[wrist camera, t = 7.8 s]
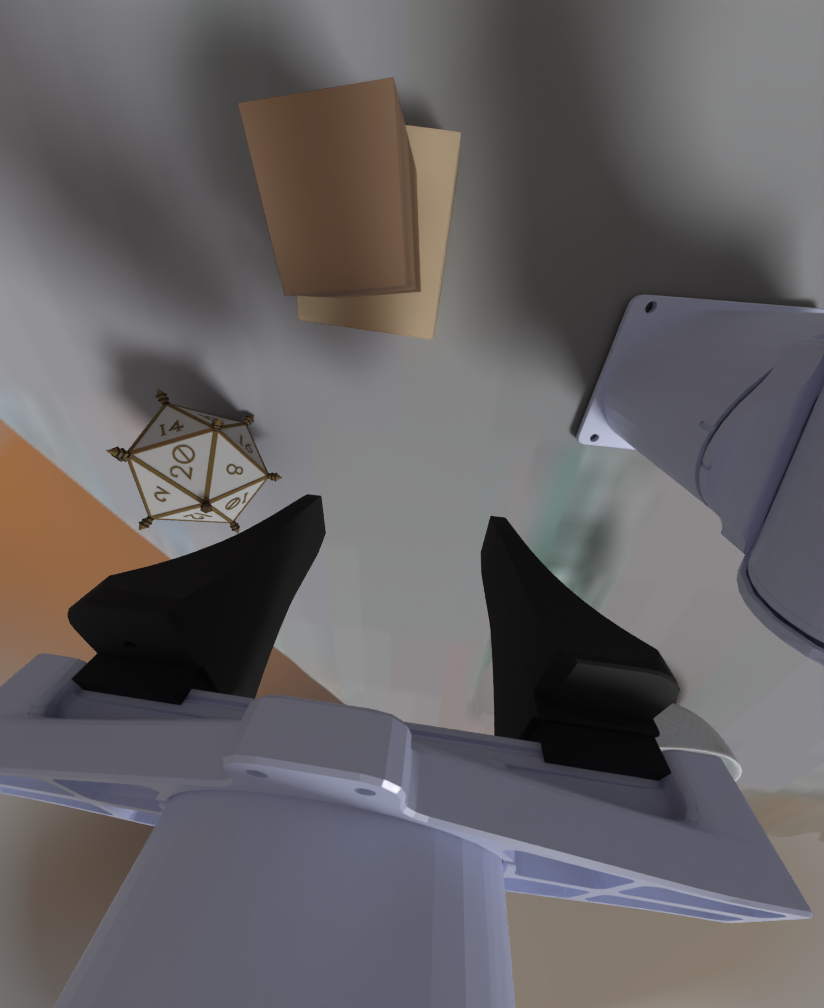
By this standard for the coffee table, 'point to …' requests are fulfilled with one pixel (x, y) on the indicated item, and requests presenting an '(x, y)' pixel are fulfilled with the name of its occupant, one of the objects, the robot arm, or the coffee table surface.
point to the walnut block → (337, 189)
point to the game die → (194, 466)
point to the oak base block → (435, 203)
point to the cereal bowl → (693, 736)
